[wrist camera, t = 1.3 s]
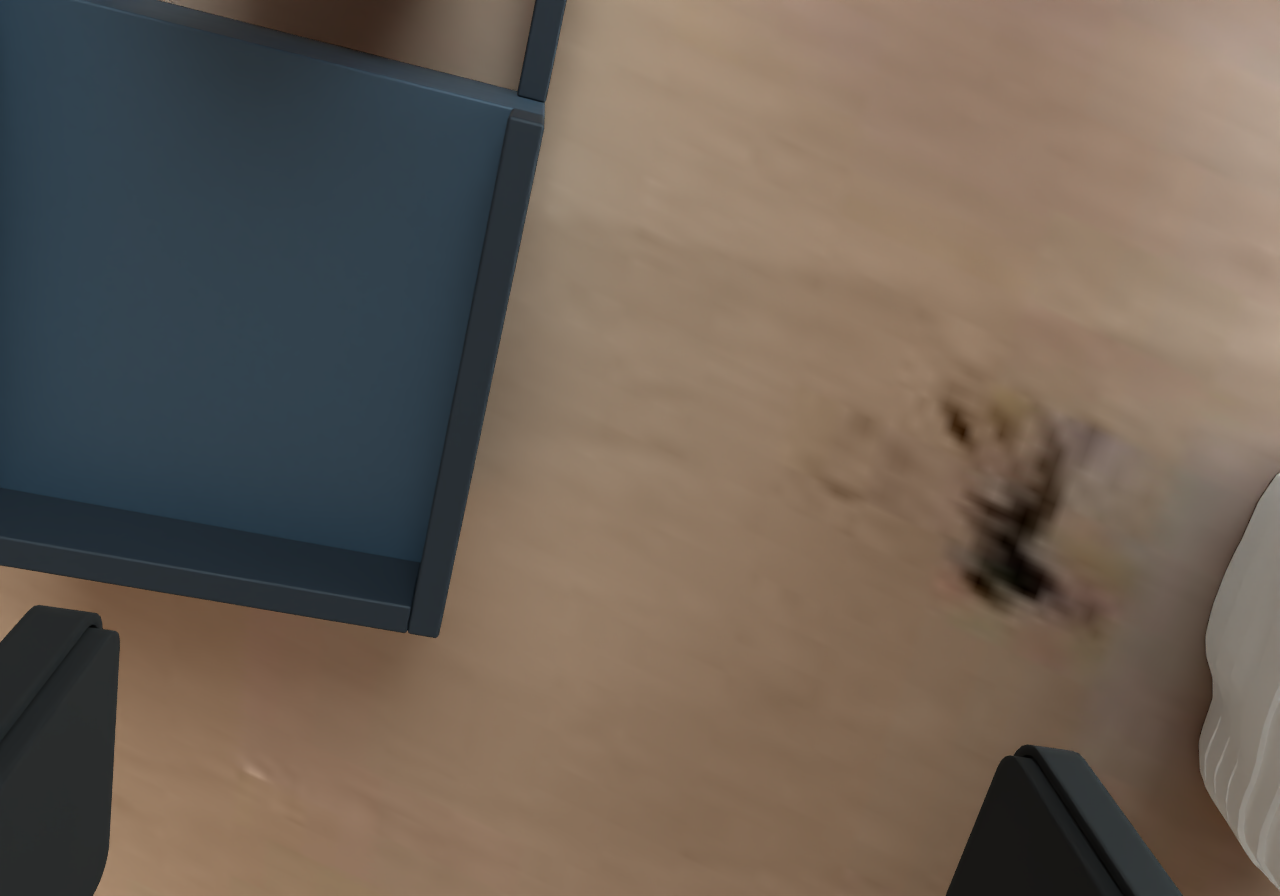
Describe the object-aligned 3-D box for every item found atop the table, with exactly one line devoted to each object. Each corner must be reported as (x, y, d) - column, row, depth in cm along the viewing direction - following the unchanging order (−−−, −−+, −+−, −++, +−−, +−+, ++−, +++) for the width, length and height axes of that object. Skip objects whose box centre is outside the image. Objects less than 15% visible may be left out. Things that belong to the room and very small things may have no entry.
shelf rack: (116, -496, 26) (-103, -763, 17) (633, -330, 28) (673, -493, 19) (57, 414, 34) (-112, 548, 25) (464, 491, 36) (437, 639, 27)
